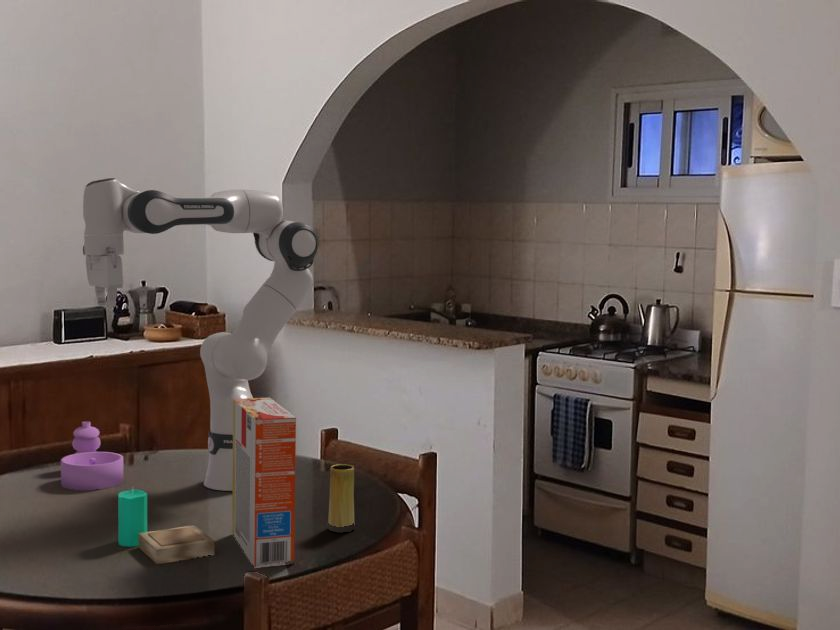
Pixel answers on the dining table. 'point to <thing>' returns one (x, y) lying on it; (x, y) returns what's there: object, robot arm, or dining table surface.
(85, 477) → the container set
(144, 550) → the base block
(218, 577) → the dining table surface
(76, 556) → the dining table surface
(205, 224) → the robot arm
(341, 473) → the vase
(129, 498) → the candle
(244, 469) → the cereal box
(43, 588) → the dining table surface
